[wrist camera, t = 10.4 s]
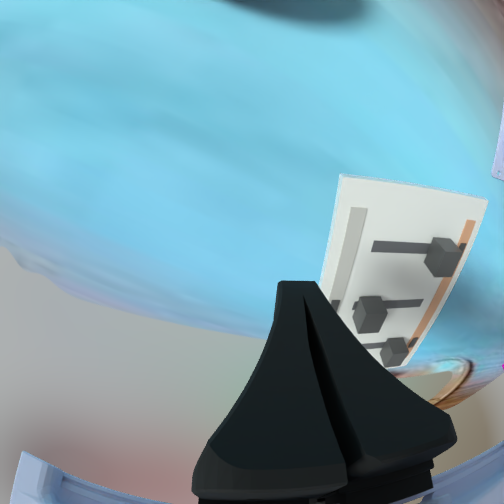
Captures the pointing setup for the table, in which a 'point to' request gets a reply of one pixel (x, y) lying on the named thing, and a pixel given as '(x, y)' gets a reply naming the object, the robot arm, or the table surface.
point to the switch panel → (394, 253)
